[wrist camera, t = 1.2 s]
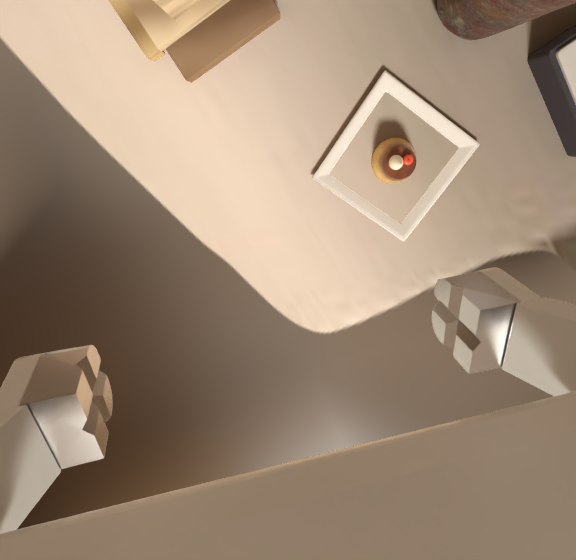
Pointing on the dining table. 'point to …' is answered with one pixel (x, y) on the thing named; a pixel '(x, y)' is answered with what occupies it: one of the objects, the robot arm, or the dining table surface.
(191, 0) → the stacked wooden blocks
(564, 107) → the red and white box
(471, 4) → the candle
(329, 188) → the dessert
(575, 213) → the dining table surface
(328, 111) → the dining table surface
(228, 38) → the board
